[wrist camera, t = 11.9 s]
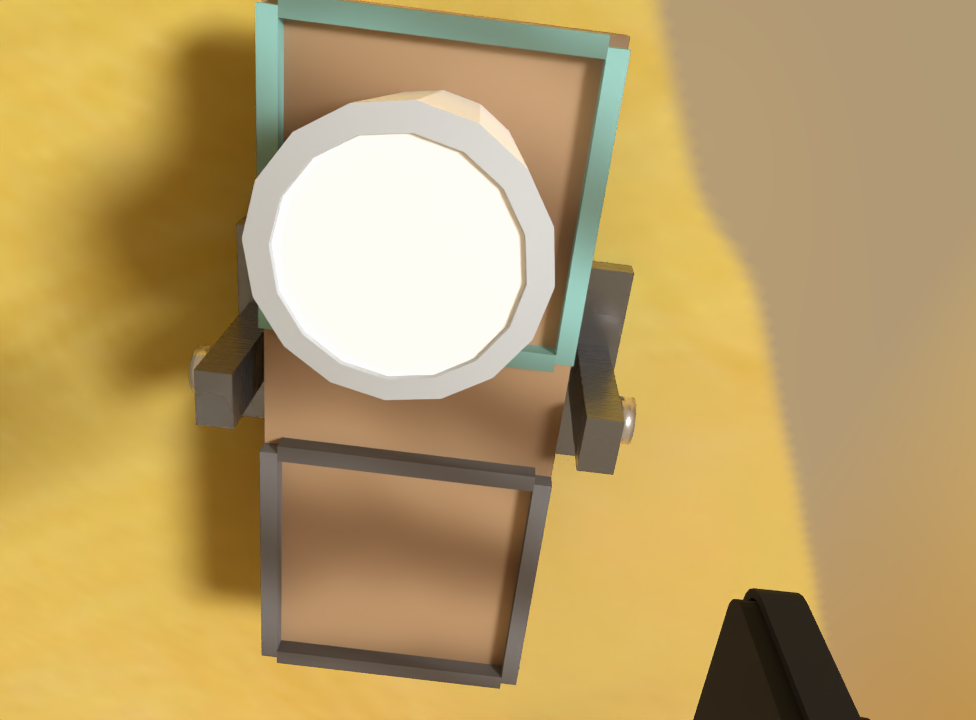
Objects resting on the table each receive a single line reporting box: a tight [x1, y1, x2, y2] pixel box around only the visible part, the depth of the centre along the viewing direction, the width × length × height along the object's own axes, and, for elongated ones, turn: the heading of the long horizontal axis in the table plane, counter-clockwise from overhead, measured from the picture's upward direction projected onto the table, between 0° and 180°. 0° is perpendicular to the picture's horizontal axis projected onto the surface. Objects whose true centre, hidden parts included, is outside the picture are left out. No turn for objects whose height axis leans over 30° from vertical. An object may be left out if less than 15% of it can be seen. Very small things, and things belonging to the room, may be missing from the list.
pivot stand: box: [189, 218, 636, 475], centre depth 28 cm, size 8×15×6 cm, turn 83°
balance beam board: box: [255, 0, 631, 689], centre depth 27 cm, size 24×10×2 cm, turn 173°
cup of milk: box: [242, 90, 555, 400], centre depth 20 cm, size 7×7×7 cm
